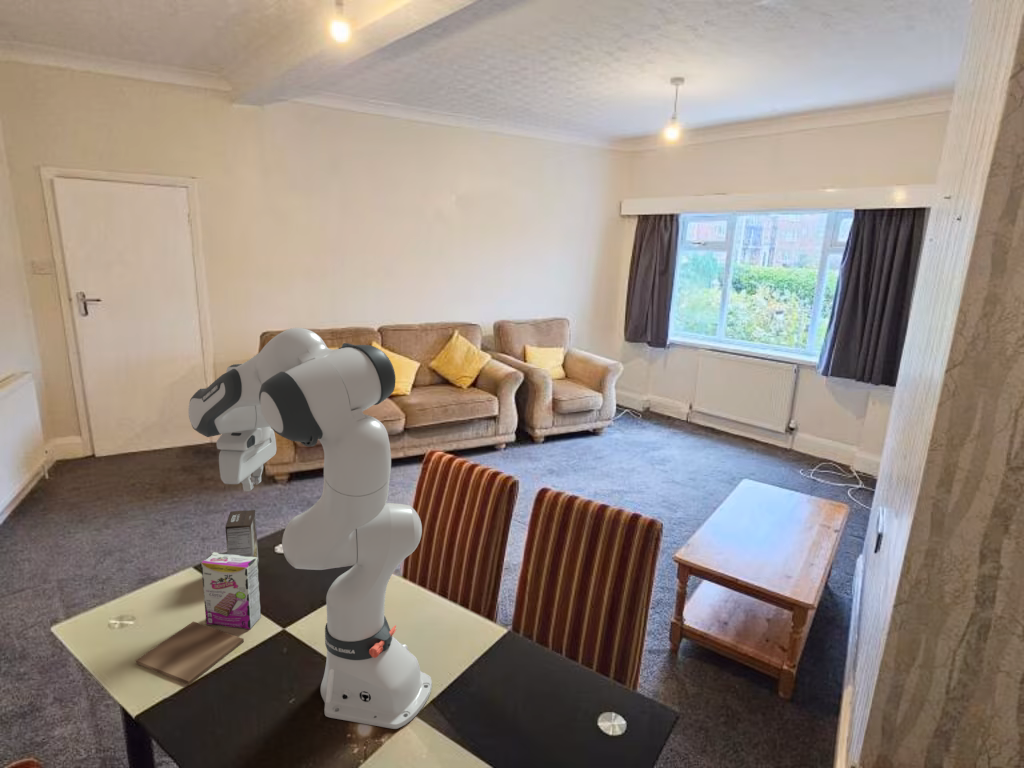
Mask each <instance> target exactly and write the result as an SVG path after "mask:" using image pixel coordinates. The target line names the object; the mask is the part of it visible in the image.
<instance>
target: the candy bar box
mask: <svg viewBox="0 0 1024 768" xmlns="http://www.w3.org/2000/svg"><path fill="white" fill-rule="evenodd" d="M200 564H201V565H200V566H201V577H202V586H203V589H202V590H203V599H204V611H205V624H206V625H212V626H220V627H229V628H238V629H244V630H251V629H252V628H253V627H254V626H255V624H256V623H257V622H258V621H259V620H260V619H261V618H262V614H261V611H262V610H261V600H260V599H261V597H260V596H261V595H260V578H259V557H258V558H257V557H250V556H241V555H232V554H227V553H224V552H222V553H221V552H215V551H214V552H212V553H210V555H208V556H207V557H206V558H204V559H203V560H202V562H201V563H200Z"/></svg>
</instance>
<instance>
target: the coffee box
mask: <svg viewBox="0 0 1024 768" xmlns="http://www.w3.org/2000/svg"><path fill="white" fill-rule="evenodd" d="M256 519H257V517H256V509H251V510H247V509H246V510H234V511H230V512H229V515H228V517H227V521H226V523H225V526H224V527H225V539H226V554H232V555H241V556H250V557H257V558H258V559H259V551H258V549H259V548H258V539H257V538H258V535H257V520H256Z"/></svg>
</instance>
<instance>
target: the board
mask: <svg viewBox="0 0 1024 768" xmlns="http://www.w3.org/2000/svg"><path fill="white" fill-rule="evenodd" d="M243 643H244V638H242V637H239V636H237V635H234V634H230V633H228V632H226V631H223V630H219V629H217V628H213V627H211V626H208V625H205V624H203V623H199V622H196V621H192V622H190V623H189V624H187V625H185V626H184V627H183V628H182V629H179V631H177V632H175V633H174V634H173V635H171V636H169V637H168V638H167V639H165V640H163V641H162V642H161V643H159V644H158V645H156V646H154V647H153V648H151V649H150V650H149V651H147V652H146V653H145V654H143V655H142V656H140V657H138V658H137V659H136V660H135V664H136V665H138V666H141V667H144V668H146V669H149V670H150V671H153V672H156V673H158V674H162V675H164V676H166V677H169V678H171V679H174V680H176V681H178V682H181V683H184V684H186V685H189V686H190V685H191V684H192V683H194V682H195V681H196V680H198V678H200V677H201V676H202V675H203V674H205V673H206V672H208V671H209V670H210V669H212V668H213V667H214V666H215V665H216V664H218V663H219V662H220V661H221V660H223V659H224V658H225V657H226V656H228V655H229V654H231V653H232V652H233V651H234V650H235V649H237V648H238V647H239V646H241V645H242V644H243Z"/></svg>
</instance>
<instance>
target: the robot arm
mask: <svg viewBox="0 0 1024 768" xmlns="http://www.w3.org/2000/svg"><path fill="white" fill-rule="evenodd" d="M395 388H396V373H395V369H394V366H393V363H392V361H391V359H390V357H388V355H387V353H385V352H384V351H382V350H381V349H379V348H378V347H375V346H373V345H370V344H351V343H348V342H343V344H342V345H341V347H339V348H337V349H331V348H329V347H328V346H327V344H326V343H325V341H324V340H323V338H322V337H321V336H319V335H318V334H317V333H316V332H314V331H313V330H310V329H308V328H304V327H293V328H288V329H286V330H284V331H282V332H279V333H277V334H276V335H275V336H274V337H272V338H271V339H270V340H269V341H268V342H266V344H264V346H263V347H262V349H260V351H259V352H258V353H257V354H256V355H254V356H253V357H251V358H249V360H246V361H245V362H243V363H236V364H234V363H233V364H231V365H229V366H228V367H227V369H226V372H225V373H223V374H221V375H220V376H219V377H218V378H216V379H215V380H214V381H213V382H212V383H210V385H209V386H208V387H206V388H200V389H198V390H197V391H196V392H195V393H194V394H193V395H192V397H191V398H190V400H189V403H188V419H189V422H190V424H191V427H192V429H193V430H195V432H197V433H198V434H201V435H202V436H203V437H206V438H212V437H215V436H220V437H218V439H217V440H216V449H217V450H220V451H219V454H218V466H219V467H218V468H219V477H220V480H221V481H222V482H223V484H225V485H239V484H240V483H241V484H242V489H243V491H244V492H251V491H252V490H253V489H254V487H255V486H254V485H256V486H258V485H259V484H260V483H261V482H262V474H263V472H264V464H265V463H267V462H268V461H269V460H270V459H271V458H273V457H274V456H275V455H276V453H277V440H276V434H277V435H278V436H280V437H282V438H285V439H287V440H289V441H292V442H298V443H300V444H302V445H303V446H305V447H310V448H311V447H315V446H316V445H317V444H318V441H319V443H320V444H321V446H322V449H323V454H324V458H323V485H322V486H323V489H322V494H321V496H320V498H319V499H318V500H317V501H316V502H315V503H314V504H313V505H312V506H311V507H310V508H308V509H307V510H305V511H304V512H302V513H299V514H298V515H295V516H293V517H292V518H291V519H290V521H289V522H288V523H287V525H286V527H285V529H284V531H283V535H282V538H281V547H282V552H283V555H284V557H285V559H286V561H287V562H288V564H289V565H290V566H292V568H294V569H298V570H310V571H311V570H315V571H322V570H330V569H335V568H336V569H338V568H343V567H351V566H352V567H351V568H349V569H348V570H347V571H345V572H344V573H341V574H340V575H339V576H337V578H336V579H335V580H334V581H333V582H332V583H331V585H330V586H329V588H328V591H327V593H326V597H325V601H326V623H325V626H324V627H325V628H324V642H325V644H324V645H325V647H326V660H325V661H326V662H325V669H324V672H323V673H324V674H323V678H322V681H321V684H320V690H319V691H320V695H321V698H322V700H323V703H324V709H323V710H324V711H323V712H324V713H323V714H324V715H325V717H327V718H331V719H337V720H343V721H347V722H353V723H359V724H364V725H370V726H377V727H381V728H387V729H393V730H397V729H399V728H402V727H403V726H405V725H407V724H408V723H410V722H411V721H413V719H414V718H415V717H417V715H418V714H419V713H420V712H421V710H422V708H423V707H425V704H426V703H427V701H428V699H429V697H430V696H431V695H430V694H431V691H432V687H433V683H432V677H431V676H430V675H429V674H427V673H426V672H424V671H421V667H420V664H419V660H418V658H417V657H416V656H415V655H414V654H413V653H412V652H411V651H410V649H409V647H408V645H407V644H405V643H401V642H399V640H397V638H396V637H394V634H395V633H396V631H397V629H396V627H397V625H396V624H395V625H394V626H393V627H392V628H390V625H389V623H388V620H387V617H386V616H385V606H386V605H385V602H386V593H387V592H386V591H387V587H388V585H389V582H390V579H391V577H392V575H393V574H394V572H395V570H397V568H398V566H400V564H401V563H402V562H403V561H404V560H405V559H407V558H408V557H409V556H410V555H412V554H413V552H415V550H416V549H417V548H418V546H419V544H420V541H421V538H422V535H423V534H422V533H423V525H422V521H421V518H420V515H419V514H418V513H417V512H418V511H416V510H415V508H414V507H412V506H411V505H410V504H405V503H393V502H391V503H390V502H388V498H389V489H390V480H391V478H390V477H391V471H392V470H391V468H392V453H391V452H392V451H391V444H390V443H391V442H390V439H389V433H388V431H387V429H386V427H385V425H384V424H383V423H382V421H380V420H379V419H378V418H376V417H374V416H372V415H369V414H365V413H364V411H366V410H368V409H369V408H371V407H372V406H378V405H380V404H381V403H383V401H385V400H387V399H388V398H389V397H390V396H391V395H392V394H393V392H394V391H395Z"/></svg>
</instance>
